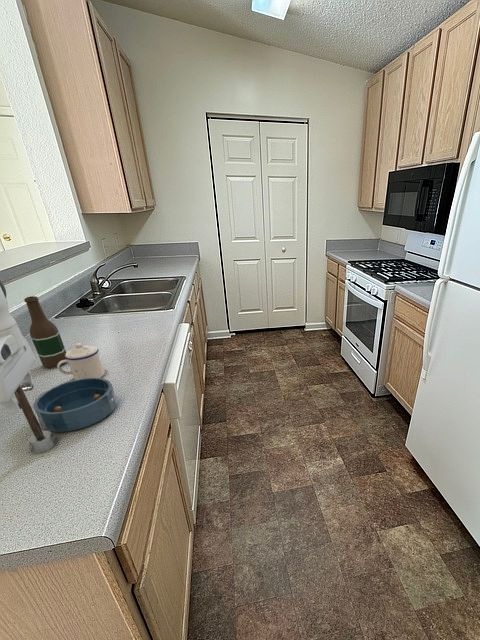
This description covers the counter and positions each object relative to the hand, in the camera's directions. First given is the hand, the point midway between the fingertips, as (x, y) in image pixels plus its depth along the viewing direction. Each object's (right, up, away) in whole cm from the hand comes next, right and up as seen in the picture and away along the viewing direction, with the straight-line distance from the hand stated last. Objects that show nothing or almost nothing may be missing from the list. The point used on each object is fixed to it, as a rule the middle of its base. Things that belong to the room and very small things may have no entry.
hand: (23, 399), depth 72 cm
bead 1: (-5, -5, +16) cm, 18 cm away
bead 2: (+3, -2, +22) cm, 22 cm away
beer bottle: (-26, +7, +45) cm, 52 cm away
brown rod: (0, -12, +6) cm, 13 cm away
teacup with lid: (-9, +3, +35) cm, 37 cm away
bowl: (+1, -6, +18) cm, 19 cm away
